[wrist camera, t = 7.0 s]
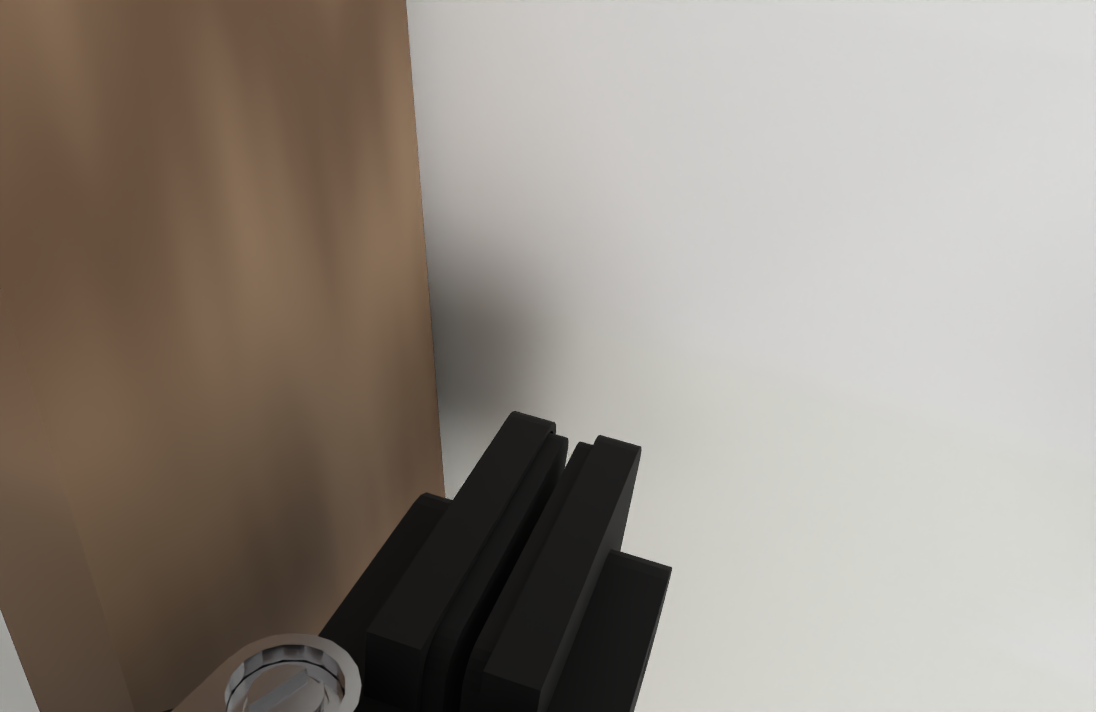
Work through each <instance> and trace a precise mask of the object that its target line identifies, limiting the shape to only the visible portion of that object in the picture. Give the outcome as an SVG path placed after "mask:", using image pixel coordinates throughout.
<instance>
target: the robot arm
mask: <svg viewBox="0 0 1096 712" xmlns="http://www.w3.org/2000/svg"><path fill="white" fill-rule="evenodd" d="M567 451H568V438H566V437H563V436H559V435H556V424H555V422H552V421H548V420H545V419H541V418H537V417H534V416H530V415H527V414H523V413H520V412H516V411H513V412H512V413H511V414H510V415H509V416H508V418H507V419H506V421H505V422H504V424H503V425H502V427H501V428H500V430H499V431H498V433H497V434H496V436H495V437H494V439H493V440H492V442H491V443H490V445H489V446H488V448H487V449H486V451H485V452H484V454H483V455H482V457H481V458H480V460H479V461H478V463H477V464H476V466H475V467H474V469H473V471H472V472H471V474H470V475H469V477H468V478H467V480H466V481H465V483H464V484H463V486H462V487H461V489H460V490H459V492H458V493H457V495H456V496H455V498H454V499H453V500H450V499H447V498H443V497H440V496H437V495H434V494H430V493H427V492H426V493H423V494H421V495H420V496H419V497H418V498H417V499H416V501H415V502H414V503H413V504H412V506H411V507H410V508H409V510H408V511H407V513H406V514H405V515H404V517H403V518H402V520H401V521H400V522H399V524H398V525H397V527H396V528H395V529H394V531H393V532H392V533H391V535H390V536H389V538H388V539H387V540H386V542H385V543H384V545H383V546H382V547H381V549H380V550H379V552H378V553H377V554H376V556H375V557H374V558H373V560H372V561H371V563H370V564H369V565H368V567H367V568H366V570H365V571H364V572H363V574H362V575H361V577H360V578H359V579H358V581H357V582H356V583H355V585H354V586H353V588H352V589H351V590H350V592H349V593H348V595H347V596H346V597H345V599H344V600H343V602H342V603H341V604H340V606H339V607H338V608H337V610H336V611H335V613H334V614H333V615H332V617H331V618H330V620H329V621H328V622H327V624H326V625H325V626H324V628H323V629H322V631H321V632H320V633H319V635H318V636H316V635H313V634H301V633H285V634H279V635H273V636H267V637H265V638H262V639H260V640H257V641H255V642H252V643H250V644H247V645H246V646H244V647H243V648H241V649H240V650H239V651H237V652H236V653H234V654H233V655H232V656H230V657H229V658H228V659H227V660H226V661H224V662H223V663H222V664H221V665H220V666H219V667H218V668H217V669H216V670H215V671H214V672H213V673H212V674H211V675H210V676H208V677H207V678H206V679H205V680H204V681H203V682H202V683H201V684H200V685H199V686H198V687H197V688H196V689H195V690H194V691H192V692H191V693H190V694H189V695H188V696H187V697H186V698H185V699H184V700H183V701H182V702H181V703H180V704H179V705H178V706H176V707H175V708H173V709H169V710H166V711H163V712H634V709H635V706H636V702H637V699H638V695H639V692H640V688H641V685H642V681H643V678H644V674H645V671H646V667H647V664H648V660H649V656H650V653H651V649H652V645H653V642H654V638H655V634H656V630H657V627H658V623H659V619H660V615H661V611H662V607H663V603H664V600H665V596H666V592H667V588H668V584H669V580H670V576H671V571H672V567H669V566H666V565H663V564H659V563H656V562H653V561H649V560H646V559H643V558H640V557H636V556H633V555H630V554H627V553H623V552H620V550H621V545H622V540H623V536H624V531H625V526H626V522H627V517H628V512H629V508H630V503H631V498H632V494H633V489H634V484H635V480H636V475H637V470H638V466H639V461H640V456H641V446H637V445H634V444H630V443H626V442H623V441H619V440H616V439H612V438H609V437H605V436H602V435H599V436H598V437H597V439H596V440H595V442H594V444H593V445H591V444H587V443H584V442H579V443H578V444H577V446H576V448H575V450H574V452H573V454H572V456H571V458H570V460H569V461H568V463H567V465H566V467H565V463H566V457H567Z"/></svg>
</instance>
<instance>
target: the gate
mask: <svg viewBox="0 0 1096 712" xmlns="http://www.w3.org/2000/svg"><path fill="white" fill-rule="evenodd" d="M426 492H427V493H430V494H434V495H437V496H440V497H443V498H445V490H444V477H443V465H442V452H441V439H440V427H439V414H438V401H437V389H436V376H435V363H434V351H433V338H432V325H431V313H430V300H429V287H428V275H427V262H426V250H425V237H424V224H423V212H422V199H421V186H420V174H419V161H418V148H417V136H416V123H415V110H414V98H413V85H412V72H411V60H410V47H409V35H408V22H407V9H406V0H0V610H1V612H2V615H3V617H4V620H5V623H6V625H7V628H8V630H9V633H10V636H11V638H12V641H13V643H14V646H15V649H16V651H17V654H18V656H19V659H20V662H21V664H22V667H23V669H24V672H25V675H26V677H27V680H28V682H29V685H30V688H31V690H32V693H33V695H34V698H35V701H36V703H37V706H38V708H39V711H40V712H163V711H166V710H169V709H173V708H175V707H176V706H178V705H179V704H180V703H181V702H182V701H183V700H184V699H185V698H186V697H187V696H188V695H189V694H190V693H191V692H192V691H194V690H195V689H196V688H197V687H198V686H199V685H200V684H201V683H202V682H203V681H204V680H205V679H206V678H207V677H208V676H210V675H211V674H212V673H213V672H214V671H215V670H216V669H217V668H218V667H219V666H220V665H221V664H222V663H223V662H224V661H226V660H227V659H228V658H229V657H230V656H232V655H233V654H234V653H236V652H237V651H239V650H240V649H241V648H243V647H244V646H246V645H247V644H250V643H252V642H255V641H257V640H260V639H262V638H265V637H267V636H273V635H279V634H285V633H301V634H313V635H316V636H318V635H319V633H320V632H321V631H322V629H323V628H324V626H325V625H326V624H327V622H328V621H329V620H330V618H331V617H332V615H333V614H334V613H335V611H336V610H337V608H338V607H339V606H340V604H341V603H342V602H343V600H344V599H345V597H346V596H347V595H348V593H349V592H350V590H351V589H352V588H353V586H354V585H355V583H356V582H357V581H358V579H359V578H360V577H361V575H362V574H363V572H364V571H365V570H366V568H367V567H368V565H369V564H370V563H371V561H372V560H373V558H374V557H375V556H376V554H377V553H378V552H379V550H380V549H381V547H382V546H383V545H384V543H385V542H386V540H387V539H388V538H389V536H390V535H391V533H392V532H393V531H394V529H395V528H396V527H397V525H398V524H399V522H400V521H401V520H402V518H403V517H404V515H405V514H406V513H407V511H408V510H409V508H410V507H411V506H412V504H413V503H414V502H415V501H416V499H417V498H418V497H419V496H420V495H421V494H423V493H426Z"/></svg>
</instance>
